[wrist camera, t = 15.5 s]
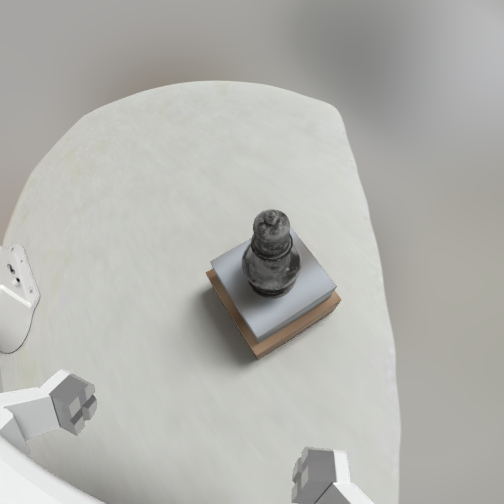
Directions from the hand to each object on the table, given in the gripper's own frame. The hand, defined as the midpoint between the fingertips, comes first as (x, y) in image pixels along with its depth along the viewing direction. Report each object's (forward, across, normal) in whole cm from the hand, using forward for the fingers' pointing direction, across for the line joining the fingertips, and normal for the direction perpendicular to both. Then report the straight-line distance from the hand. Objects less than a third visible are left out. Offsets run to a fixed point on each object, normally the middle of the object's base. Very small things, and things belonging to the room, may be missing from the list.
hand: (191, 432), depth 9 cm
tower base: (+31, -3, +6) cm, 31 cm away
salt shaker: (+24, -2, +1) cm, 24 cm away
